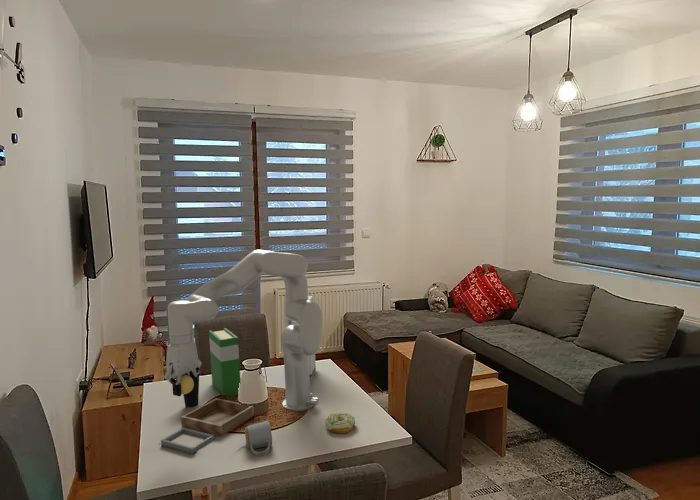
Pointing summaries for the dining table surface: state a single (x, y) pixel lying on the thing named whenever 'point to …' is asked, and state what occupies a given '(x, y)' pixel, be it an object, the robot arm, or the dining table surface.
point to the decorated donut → (340, 422)
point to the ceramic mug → (258, 437)
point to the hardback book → (225, 362)
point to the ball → (186, 384)
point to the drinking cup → (192, 394)
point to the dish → (184, 448)
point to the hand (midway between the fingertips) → (184, 391)
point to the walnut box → (217, 417)
